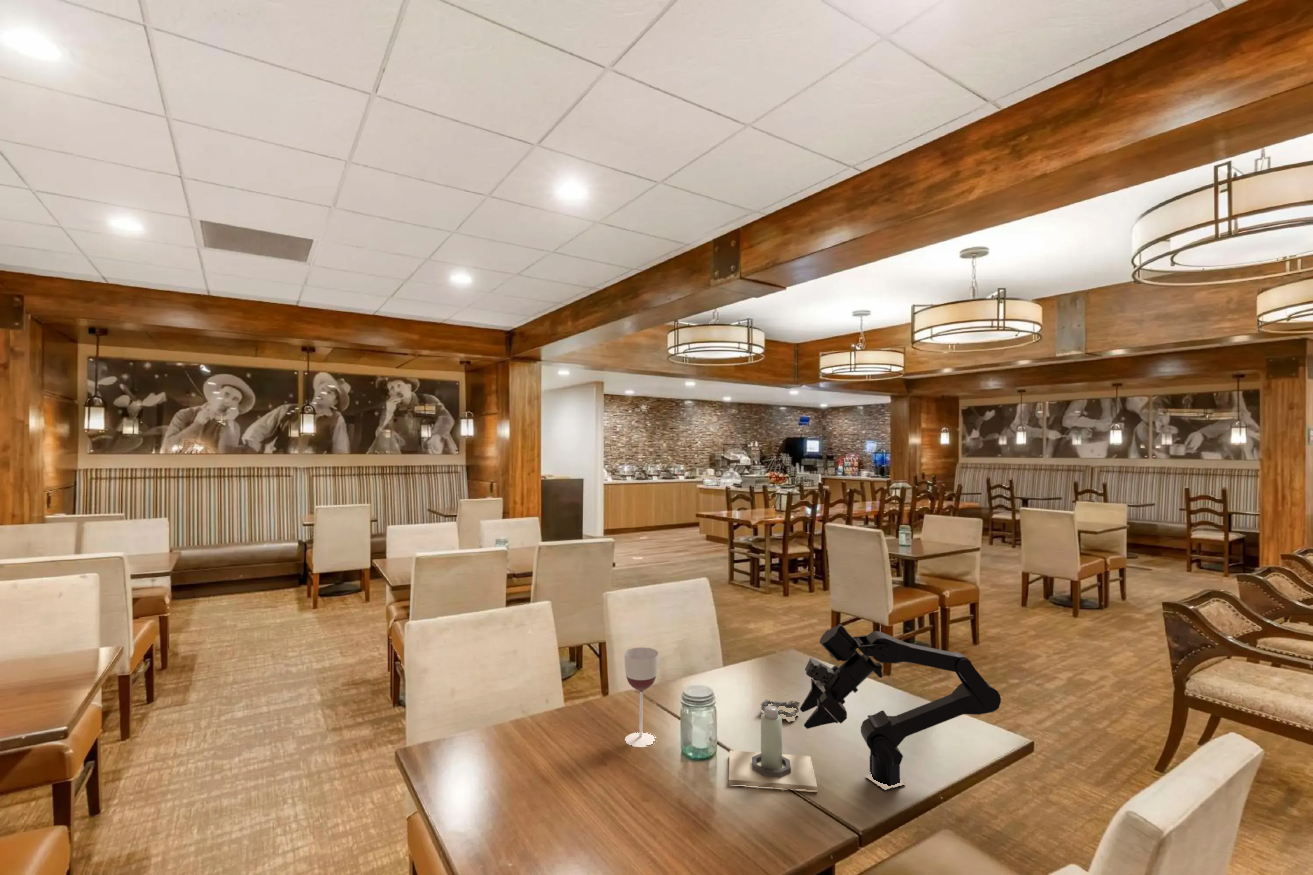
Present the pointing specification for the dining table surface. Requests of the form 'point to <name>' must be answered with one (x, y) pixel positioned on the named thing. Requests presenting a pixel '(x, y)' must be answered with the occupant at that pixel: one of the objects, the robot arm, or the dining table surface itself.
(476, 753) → the dining table surface
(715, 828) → the dining table surface
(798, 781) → the board
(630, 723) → the dining table surface
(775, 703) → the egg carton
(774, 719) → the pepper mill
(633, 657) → the wineglass
